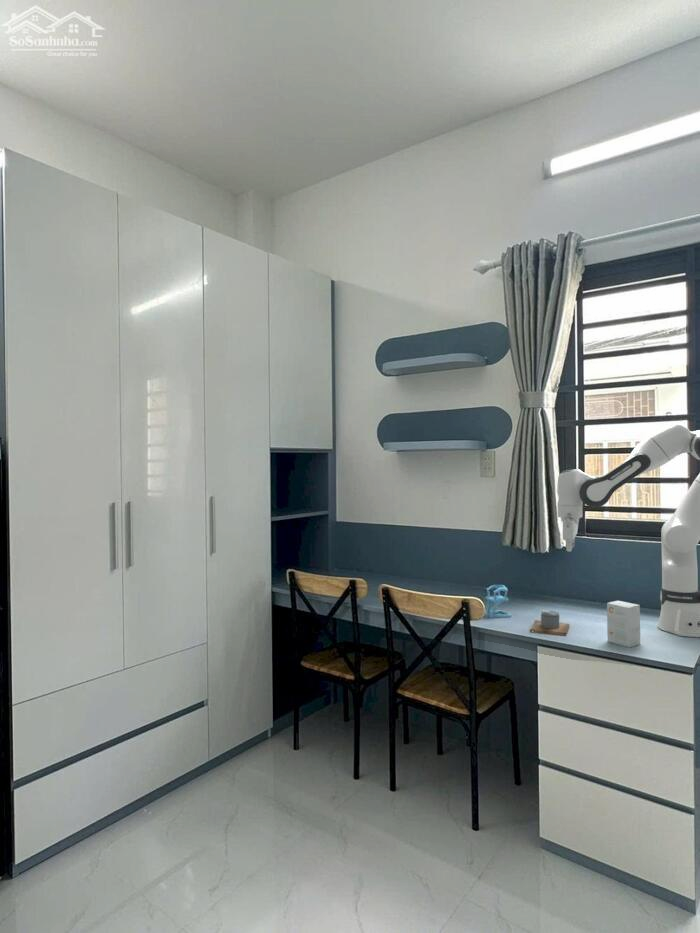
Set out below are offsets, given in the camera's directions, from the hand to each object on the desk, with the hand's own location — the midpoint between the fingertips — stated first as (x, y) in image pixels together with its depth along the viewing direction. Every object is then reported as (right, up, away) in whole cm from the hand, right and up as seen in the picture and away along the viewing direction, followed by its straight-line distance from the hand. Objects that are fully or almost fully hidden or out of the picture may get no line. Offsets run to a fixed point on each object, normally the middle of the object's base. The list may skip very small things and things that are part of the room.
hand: (570, 549), depth 220 cm
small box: (+8, -28, -25) cm, 38 cm away
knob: (-11, -26, -9) cm, 30 cm away
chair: (-25, -28, +10) cm, 38 cm away
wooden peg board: (-11, -27, -9) cm, 31 cm away
